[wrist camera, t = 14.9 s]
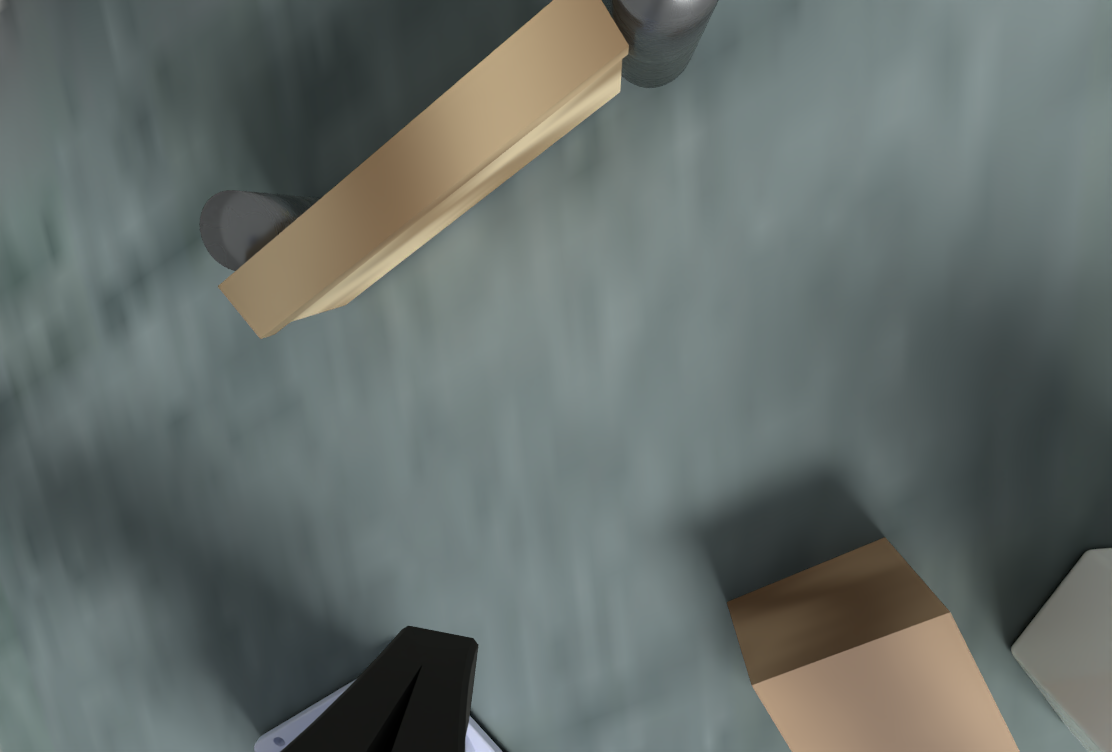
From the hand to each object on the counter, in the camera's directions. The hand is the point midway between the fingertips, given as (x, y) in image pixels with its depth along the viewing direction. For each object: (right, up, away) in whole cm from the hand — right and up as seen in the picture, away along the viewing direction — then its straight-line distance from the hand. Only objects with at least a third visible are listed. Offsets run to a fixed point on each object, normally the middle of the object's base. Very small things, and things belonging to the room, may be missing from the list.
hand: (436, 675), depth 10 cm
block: (+13, -4, +10) cm, 17 cm away
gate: (-1, +11, +7) cm, 13 cm away
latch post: (-5, +10, +8) cm, 14 cm away
